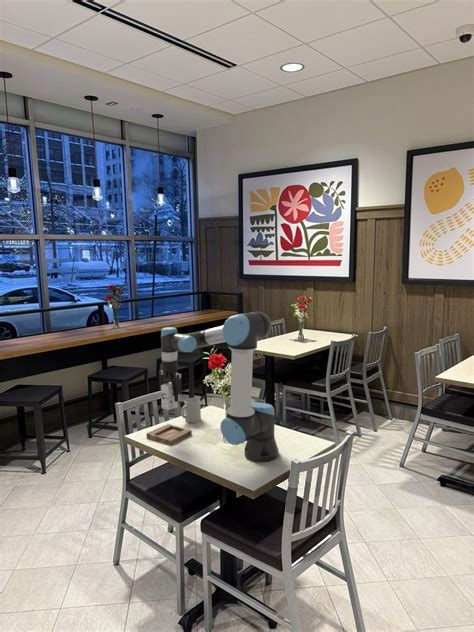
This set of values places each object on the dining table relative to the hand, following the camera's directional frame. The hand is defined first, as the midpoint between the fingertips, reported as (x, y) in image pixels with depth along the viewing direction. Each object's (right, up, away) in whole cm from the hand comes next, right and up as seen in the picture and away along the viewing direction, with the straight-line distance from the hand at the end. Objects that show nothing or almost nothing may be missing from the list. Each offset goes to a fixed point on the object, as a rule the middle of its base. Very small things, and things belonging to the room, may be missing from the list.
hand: (170, 406), depth 221 cm
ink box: (0, -1, 0) cm, 0 cm away
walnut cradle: (-1, -15, +3) cm, 16 cm away
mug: (+7, -13, +24) cm, 28 cm away
